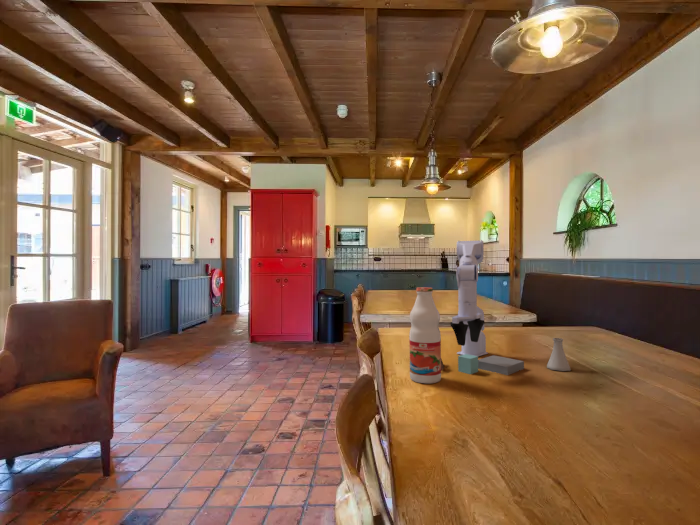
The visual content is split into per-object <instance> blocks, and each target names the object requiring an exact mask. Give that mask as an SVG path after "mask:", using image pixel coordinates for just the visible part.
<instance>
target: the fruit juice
mask: <svg viewBox="0 0 700 525" xmlns="http://www.w3.org/2000/svg"><path fill="white" fill-rule="evenodd" d="M415 291H416V294H417V295H416V297H415V302H414V304H413V306H412V308H411V310H410V312H409V323H410V324H411V327H410V328H409V336H408V337H409V339H408V340H409V341H408V342H409V378H410V379H411V381H413V382H416V383H419V384H435V383H439V382H440V381H441V379H442V371H441V359H442V353H441V352H442V349H441V348H442V343H441V342H442V340H441V339H442V336H441V330H440V327H439V325H440V324H439V323H440V321H441V314H440V312H439V310H438V308H437V306H436V304H435V301H434V298H433V287H430V286H429V287H427V286H426V287H425V286H423V287H421V286H420V287H418V286H417V287H416V289H415Z"/></svg>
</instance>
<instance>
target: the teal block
mask: <svg viewBox="0 0 700 525" xmlns="http://www.w3.org/2000/svg"><path fill="white" fill-rule="evenodd" d="M457 358H458V359H457V361H458V362H457V363H458V364H457V366H458V367H457V368H458V369H457V370H458V372H460V373H463V374H467V375H474V374H476V373H479V369H478V360H479V356H473V355H468V354H464V355H461V354H460V355H458V356H457Z"/></svg>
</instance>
